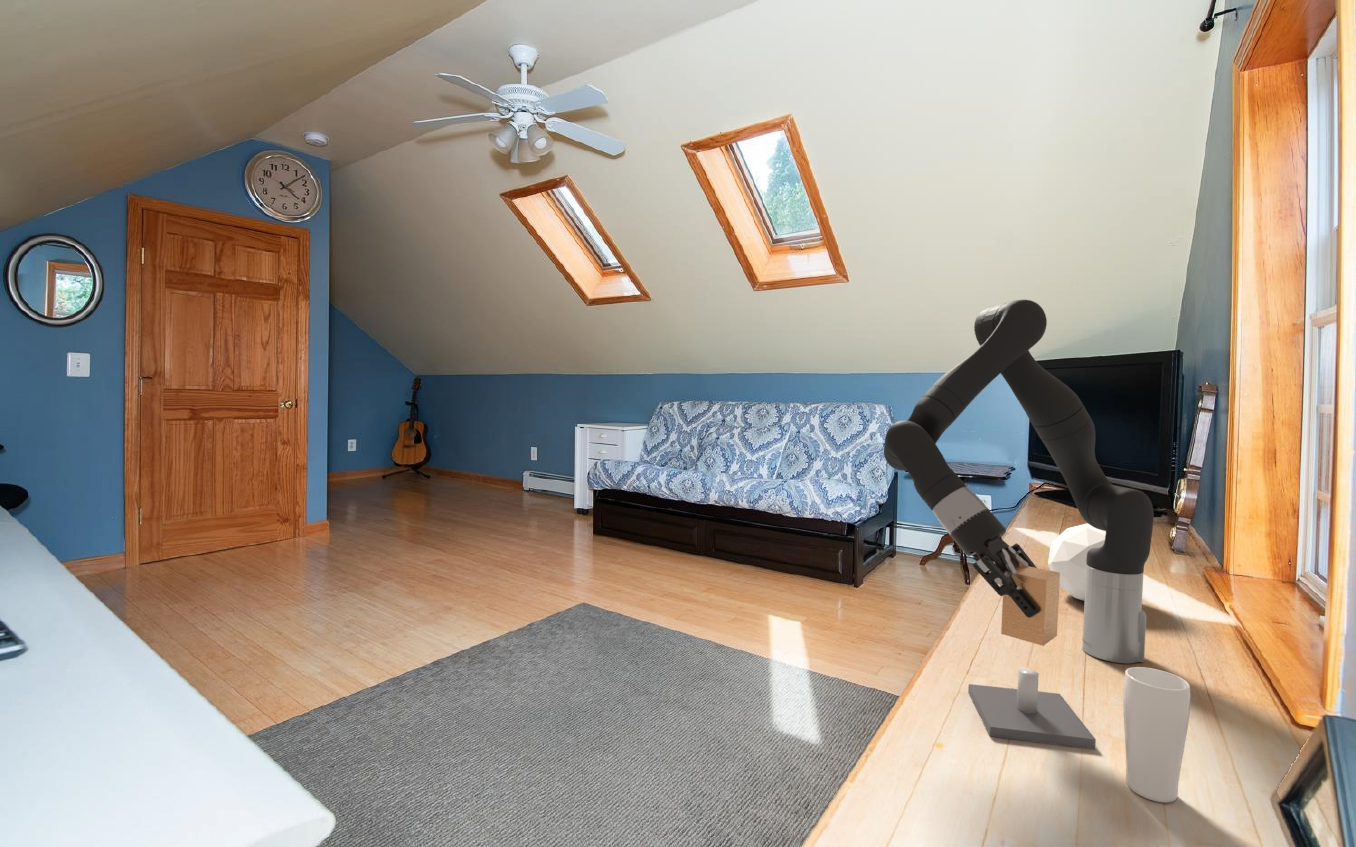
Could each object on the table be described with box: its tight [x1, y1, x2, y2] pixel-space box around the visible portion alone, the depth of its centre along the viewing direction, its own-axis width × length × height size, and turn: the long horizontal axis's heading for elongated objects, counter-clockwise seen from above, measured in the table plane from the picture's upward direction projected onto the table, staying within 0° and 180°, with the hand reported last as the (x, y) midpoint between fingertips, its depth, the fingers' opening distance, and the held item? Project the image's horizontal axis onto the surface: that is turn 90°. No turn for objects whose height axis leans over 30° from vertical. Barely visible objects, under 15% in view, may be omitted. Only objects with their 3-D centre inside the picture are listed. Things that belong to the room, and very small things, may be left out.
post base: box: [968, 667, 1097, 750], centre depth 98 cm, size 14×14×8 cm
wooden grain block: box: [1000, 564, 1060, 647], centre depth 98 cm, size 6×6×10 cm
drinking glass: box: [1122, 666, 1191, 804], centre depth 80 cm, size 7×7×15 cm
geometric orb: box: [1047, 522, 1106, 602], centre depth 155 cm, size 19×20×20 cm
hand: (1042, 609), depth 96 cm, fingers closed on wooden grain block, 6 cm apart
